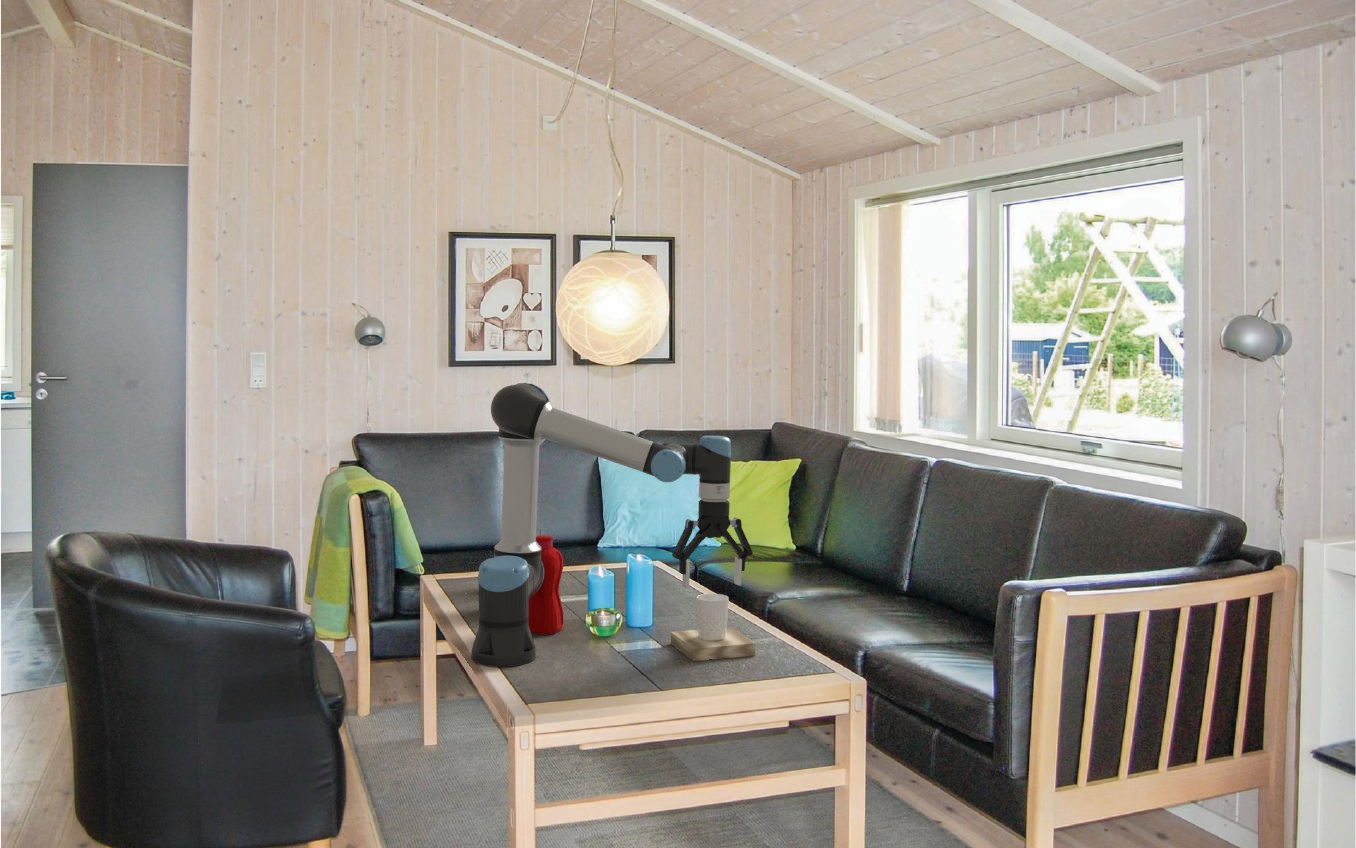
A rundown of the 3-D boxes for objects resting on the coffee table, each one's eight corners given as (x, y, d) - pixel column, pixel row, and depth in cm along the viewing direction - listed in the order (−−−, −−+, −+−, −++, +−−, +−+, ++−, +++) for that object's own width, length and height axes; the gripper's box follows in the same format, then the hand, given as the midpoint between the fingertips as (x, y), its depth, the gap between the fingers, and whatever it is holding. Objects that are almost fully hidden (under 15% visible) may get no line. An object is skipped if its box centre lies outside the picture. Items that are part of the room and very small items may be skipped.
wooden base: (693, 661, 263) (693, 648, 263) (670, 643, 278) (670, 631, 278) (755, 655, 268) (755, 643, 268) (730, 638, 283) (730, 626, 283)
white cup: (715, 643, 267) (716, 602, 267) (689, 638, 272) (690, 597, 271) (734, 636, 274) (735, 596, 273) (708, 631, 278) (708, 592, 278)
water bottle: (569, 626, 294) (569, 532, 292) (553, 637, 283) (554, 539, 281) (537, 623, 296) (537, 530, 294) (520, 634, 285) (520, 537, 284)
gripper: (670, 503, 262) (668, 591, 264) (767, 500, 271) (764, 586, 272) (660, 498, 270) (658, 584, 271) (755, 496, 278) (752, 579, 280)
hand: (711, 585), depth 272 cm, fingers open, 13 cm apart
